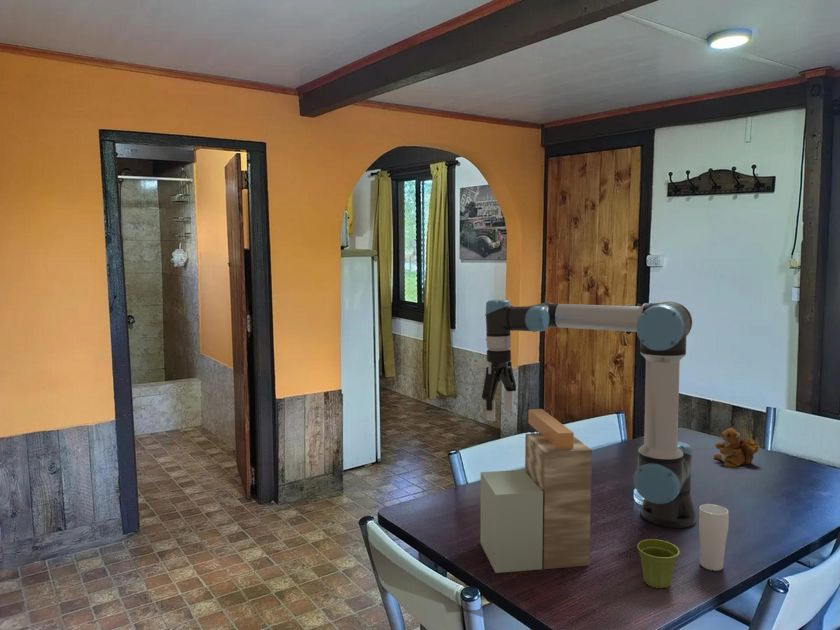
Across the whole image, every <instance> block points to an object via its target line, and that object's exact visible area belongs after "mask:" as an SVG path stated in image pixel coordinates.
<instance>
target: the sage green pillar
mask: <svg viewBox="0 0 840 630" xmlns="http://www.w3.org/2000/svg"><path fill="white" fill-rule="evenodd" d="M480 545H481V548H482V549H483V551H484V553H485V555H486V557H487V559H488V560H489V563H490V565H491V567H492V569H493V570H494V573H495V574H497V573H498V574H501V573H511V572H523V571H535V570H537V571H538V570H543V567H542V546H543V491H542V490H541V489H540V488H539V487H538V486H537V484H536V483H535V482H534V481H533V480H532V479H531V478H530V476H529V475H528V474H527V473H526V472H525V469H515V470H514V469H512V470H499V471H498V470H496V471H481V472H480Z"/></svg>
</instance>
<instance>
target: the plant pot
mask: <svg viewBox="0 0 840 630" xmlns="http://www.w3.org/2000/svg"><path fill="white" fill-rule="evenodd" d="M636 547H637V550H638V553H639V556H640V560H641V561H640V563H641V568H642V569H641V570H642V577H643V581H645V584H646V585H647V584H648V585H647V586H649V585H650V587H651V586H652V587H651V588H654V587H656V588H655V589H658V588H661V589H663V588H666V589H668V588H670V586H671V585H672V581H673V574H674V570H675V566H676V565H675V564H676V561H677V558H678V556H679V555H680V549H679V548H678V546H676V545H675V544H673V543H672V542H669V541H666V540H661V539H657V538H655V539H653V538H647V539H642V540H640V541H639V542H638V543H637V546H636ZM667 587H668V588H667Z"/></svg>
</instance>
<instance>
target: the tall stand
mask: <svg viewBox="0 0 840 630" xmlns="http://www.w3.org/2000/svg"><path fill="white" fill-rule="evenodd" d="M524 444H525V446H524V449H525V453H524V454H525V457H524V459H525V460H524V462H525V463H524V466H525V467H524V471H525V472H526V473H527V474H528V475H529V476H530V478H531V479H532V480H533V481H534V482H535V483H536V484H537V486H538V487H539V488H540V489H541V490H542V491H543V546H542V570H548V569H561V568H563V569H564V568H573V567H586V566H588V567H589V566H590V563H591V562H590V557H591V554H590V553H591V513H592V512H591V511H592V510H591V509H592V504H591V503H592V466H593V465H592V461H593V457H592V456H593V452H592V451H593V450H592V448H590V447H589V446H587V445H586V444H585V443H584V442H582V441H581V440H579V439H578V438H577V437H576V436H574V440H573V448H570V449H557V448H556V447H555V446H554V445H553V444H552V443H550V442H549V441H548V440H547V439H546V438H545V437H544V436H543V435H541V434H540V433H539V432H535V433H525V443H524Z"/></svg>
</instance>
